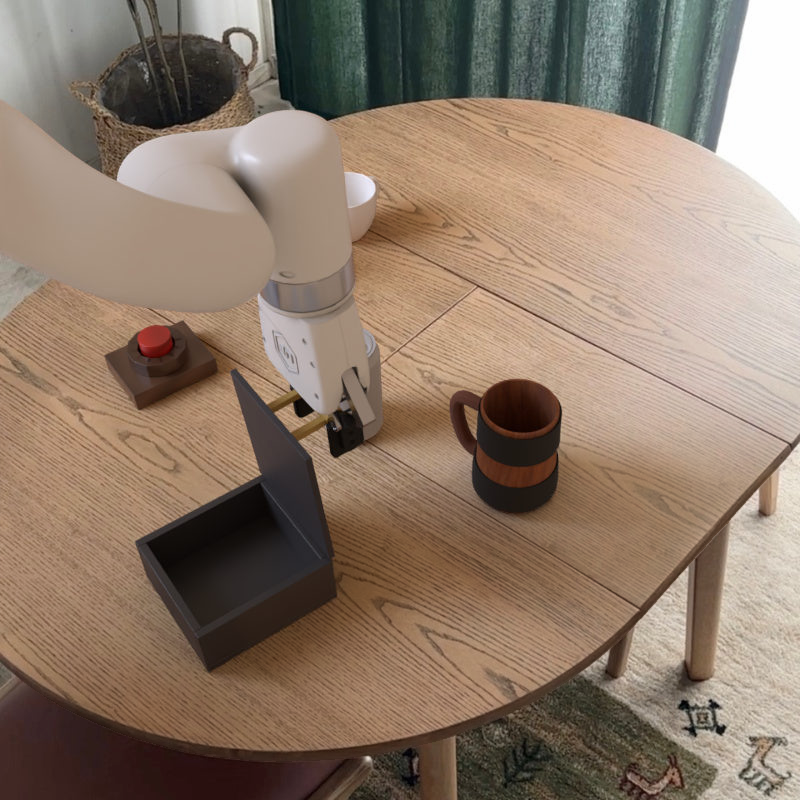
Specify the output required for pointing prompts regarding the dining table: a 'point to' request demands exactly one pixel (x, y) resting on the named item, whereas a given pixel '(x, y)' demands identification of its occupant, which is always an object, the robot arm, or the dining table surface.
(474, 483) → the mug
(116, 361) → the block
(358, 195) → the cup
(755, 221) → the dining table surface
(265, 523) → the box case
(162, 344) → the alarm button
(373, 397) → the beverage can
